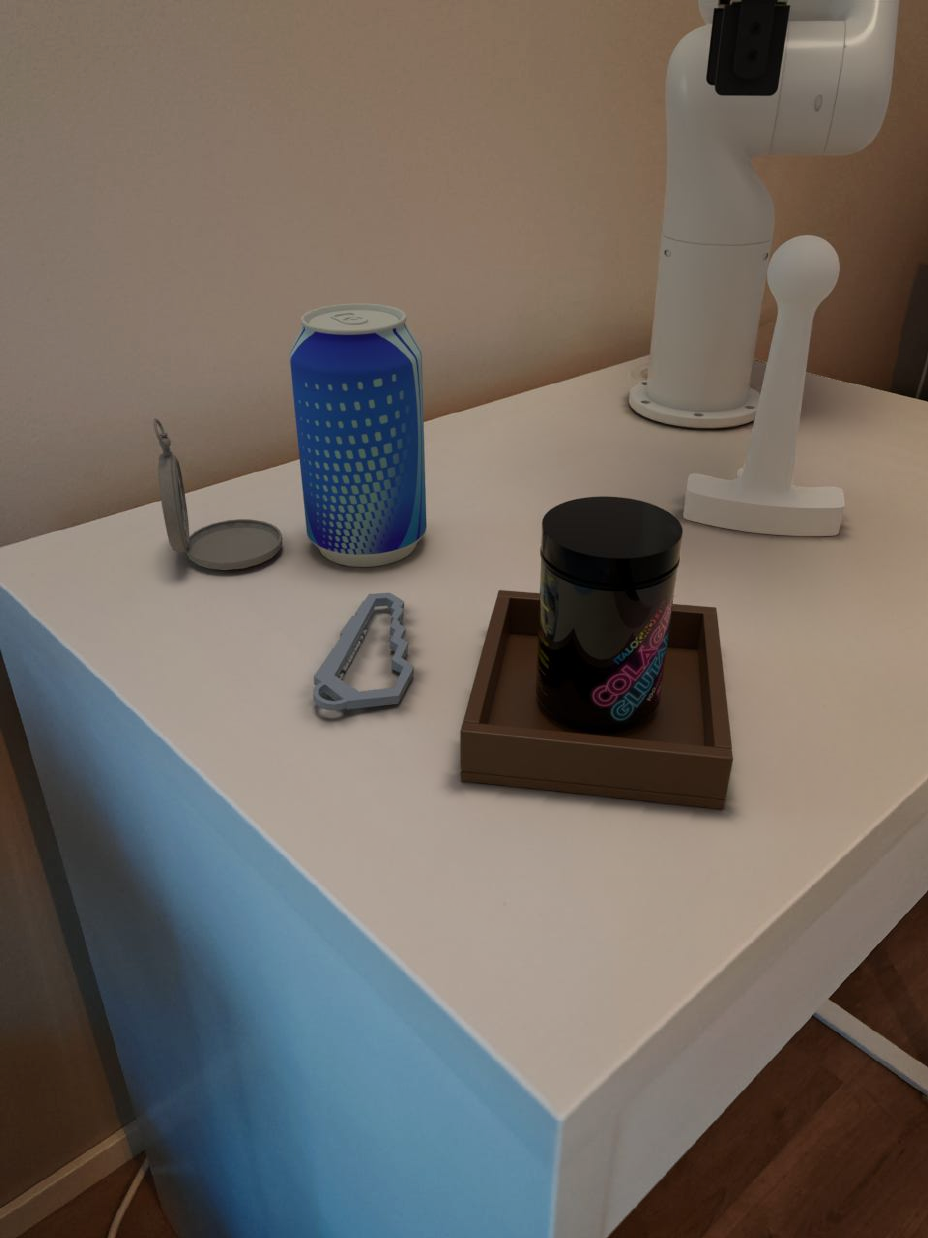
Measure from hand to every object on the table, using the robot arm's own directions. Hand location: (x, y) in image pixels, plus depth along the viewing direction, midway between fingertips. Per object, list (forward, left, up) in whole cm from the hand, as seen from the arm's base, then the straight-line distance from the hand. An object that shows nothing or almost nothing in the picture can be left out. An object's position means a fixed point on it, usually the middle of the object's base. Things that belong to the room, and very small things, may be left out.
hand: (738, 89), depth 55 cm
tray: (+22, -5, -28) cm, 36 cm away
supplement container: (+22, -5, -28) cm, 36 cm away
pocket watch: (+8, -32, -28) cm, 44 cm away
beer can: (+5, -22, -28) cm, 36 cm away
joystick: (-5, +6, -28) cm, 30 cm away
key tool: (+19, -18, -28) cm, 39 cm away
